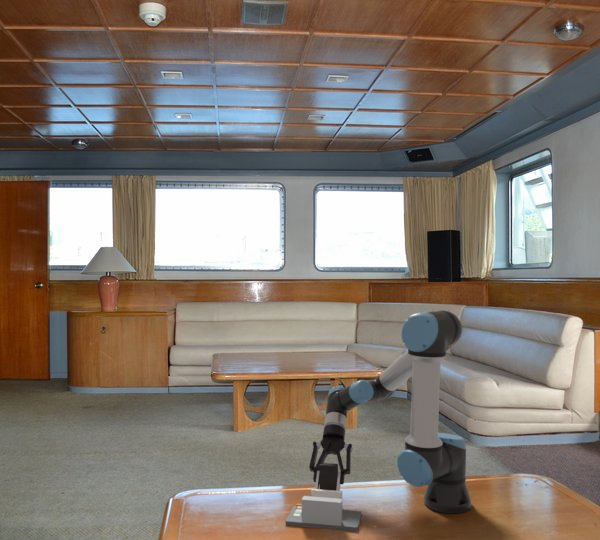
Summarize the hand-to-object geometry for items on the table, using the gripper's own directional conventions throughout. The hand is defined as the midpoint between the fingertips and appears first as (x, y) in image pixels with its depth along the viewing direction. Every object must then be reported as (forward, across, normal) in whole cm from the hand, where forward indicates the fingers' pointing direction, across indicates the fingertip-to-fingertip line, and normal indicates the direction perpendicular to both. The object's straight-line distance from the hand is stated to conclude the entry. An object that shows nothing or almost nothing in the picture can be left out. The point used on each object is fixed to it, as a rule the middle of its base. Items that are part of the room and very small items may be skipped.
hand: (327, 492), depth 196 cm
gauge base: (+9, 0, +1) cm, 10 cm away
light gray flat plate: (+5, +2, -1) cm, 6 cm away
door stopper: (0, 0, -6) cm, 6 cm away
